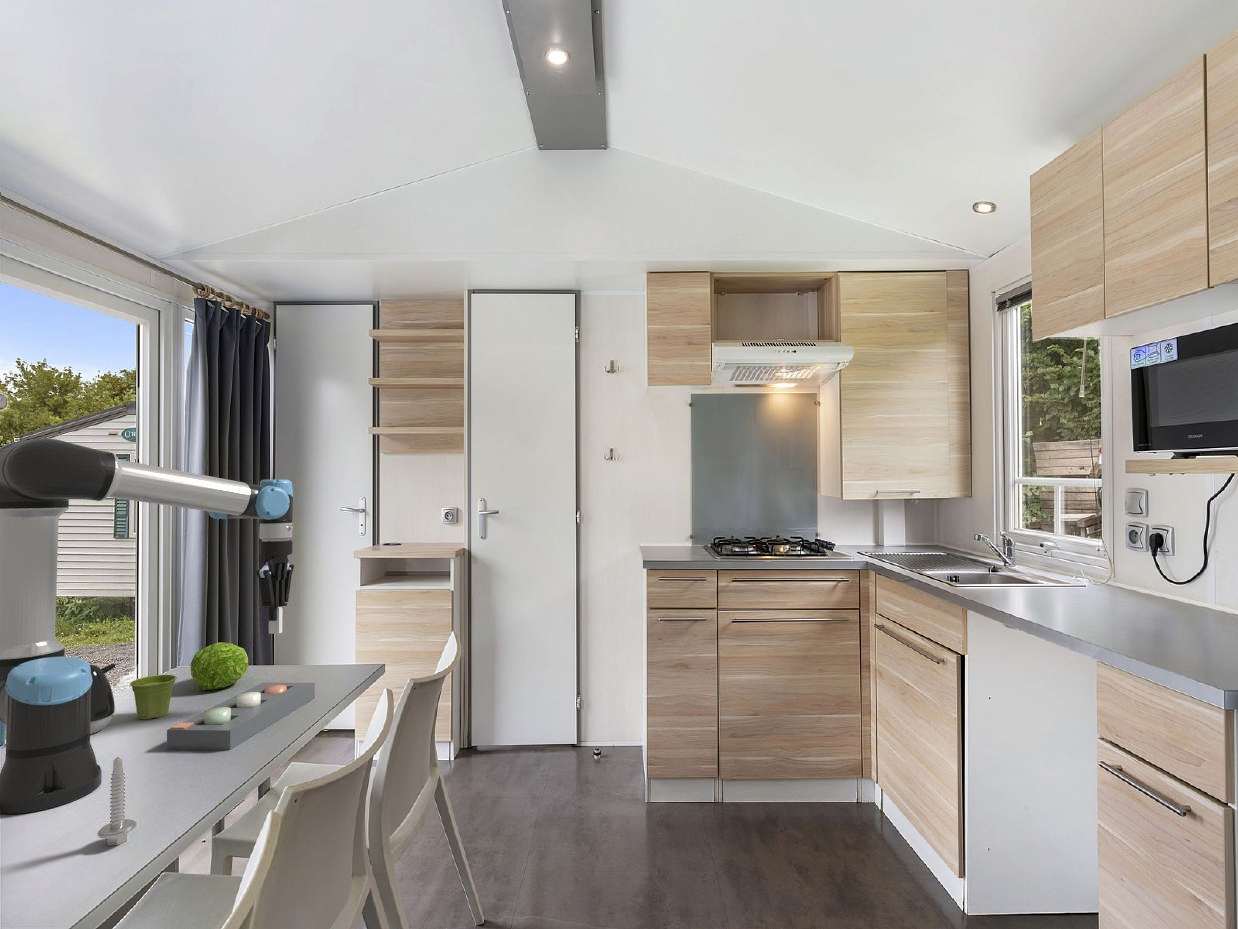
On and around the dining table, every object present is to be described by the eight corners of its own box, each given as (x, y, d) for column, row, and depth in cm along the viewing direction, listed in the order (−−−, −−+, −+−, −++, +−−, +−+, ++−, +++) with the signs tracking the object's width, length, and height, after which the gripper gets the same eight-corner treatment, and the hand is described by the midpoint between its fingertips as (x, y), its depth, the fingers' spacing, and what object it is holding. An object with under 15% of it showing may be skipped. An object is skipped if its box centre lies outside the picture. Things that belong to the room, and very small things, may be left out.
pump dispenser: (123, 729, 152) (124, 662, 153) (66, 744, 144) (68, 673, 144) (105, 721, 158) (106, 656, 158) (50, 734, 149) (51, 666, 150)
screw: (109, 835, 105) (142, 832, 106) (89, 851, 100) (125, 848, 101) (110, 752, 106) (143, 749, 106) (90, 764, 101) (126, 762, 101)
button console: (230, 749, 139) (230, 729, 139) (166, 749, 140) (166, 728, 140) (314, 698, 173) (314, 681, 173) (263, 698, 174) (263, 681, 174)
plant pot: (185, 709, 166) (186, 674, 166) (155, 723, 156) (156, 686, 157) (151, 709, 167) (151, 674, 167) (119, 722, 157) (119, 685, 157)
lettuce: (265, 650, 202) (223, 629, 199) (251, 659, 181) (203, 635, 179) (238, 690, 198) (195, 668, 196) (220, 704, 178) (171, 680, 175)
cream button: (252, 714, 154) (252, 698, 154) (231, 714, 154) (231, 698, 155) (265, 707, 159) (265, 692, 159) (245, 707, 159) (245, 692, 160)
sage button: (220, 732, 143) (221, 715, 143) (198, 732, 144) (198, 714, 144) (235, 724, 148) (235, 707, 148) (214, 723, 148) (214, 707, 149)
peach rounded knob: (279, 705, 165) (279, 690, 165) (260, 705, 165) (260, 690, 166) (290, 699, 170) (290, 684, 170) (271, 699, 170) (271, 684, 171)
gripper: (275, 541, 162) (274, 638, 162) (304, 537, 175) (303, 627, 175) (246, 542, 163) (245, 638, 162) (276, 538, 176) (276, 627, 175)
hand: (275, 632), depth 168 cm, fingers closed
